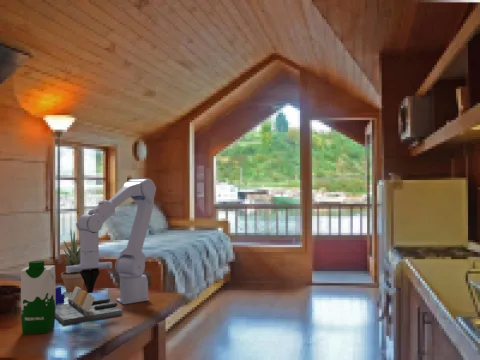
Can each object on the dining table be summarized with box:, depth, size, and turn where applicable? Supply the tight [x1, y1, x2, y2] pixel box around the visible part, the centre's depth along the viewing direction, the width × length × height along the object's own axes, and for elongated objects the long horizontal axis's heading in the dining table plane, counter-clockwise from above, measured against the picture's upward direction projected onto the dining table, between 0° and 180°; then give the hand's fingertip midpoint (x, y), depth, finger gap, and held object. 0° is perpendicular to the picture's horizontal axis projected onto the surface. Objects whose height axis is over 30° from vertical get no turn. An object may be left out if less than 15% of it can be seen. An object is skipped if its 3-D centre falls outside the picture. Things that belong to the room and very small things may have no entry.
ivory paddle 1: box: [69, 286, 83, 302], centre depth 157 cm, size 1×4×4 cm, turn 35°
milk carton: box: [20, 260, 56, 335], centre depth 134 cm, size 9×9×20 cm
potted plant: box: [60, 230, 85, 293], centre depth 184 cm, size 10×10×25 cm
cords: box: [92, 298, 118, 309], centre depth 155 cm, size 8×8×1 cm
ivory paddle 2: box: [82, 293, 96, 311], centre depth 145 cm, size 1×4×4 cm, turn 35°
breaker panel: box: [55, 298, 123, 326], centre depth 152 cm, size 18×20×3 cm
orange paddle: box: [76, 289, 89, 306], centre depth 151 cm, size 1×4×4 cm, turn 35°
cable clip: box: [55, 286, 65, 305], centre depth 166 cm, size 12×4×6 cm, turn 68°
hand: (89, 292), depth 153 cm, fingers closed
